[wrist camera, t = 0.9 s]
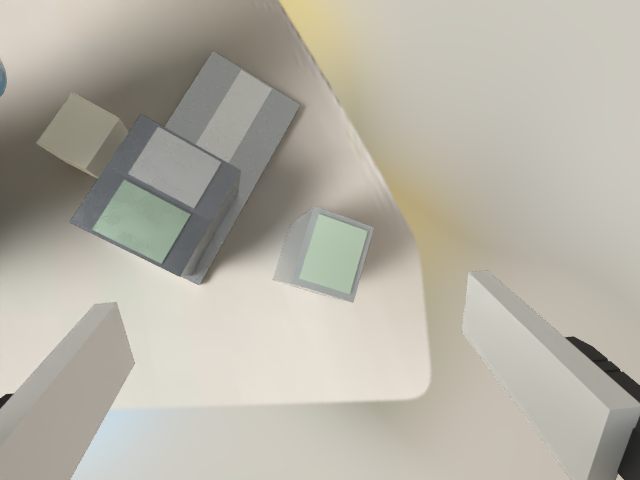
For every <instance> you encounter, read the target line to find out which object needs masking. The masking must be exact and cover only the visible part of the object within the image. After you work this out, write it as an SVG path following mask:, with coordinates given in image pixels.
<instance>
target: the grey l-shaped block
mask: <svg viewBox="0 0 640 480" xmlns="http://www.w3.org/2000/svg"><path fill="white" fill-rule="evenodd" d="M299 107H300V104H299V103H297V102H295V101H294V100H292V99H290V98H289V97H287V96H286V95H284V94H282V93H281V92H279V91H277V90H276V89H274V88H273V87H271V86H269V85H268V84H266V83H264V82H263V81H261V80H260V79H258V78H256V77H255V76H253V75H252V74H250V73H248V72H247V71H245V70H243V69H242V68H240V67H239V66H237V65H235V64H234V63H232V62H230V61H229V60H227V59H226V58H224V57H222V56H221V55H219V54H217V53H216V52H214V51H213V52H212V53H211V55H210V56H209V58H208V59H207V61H206V62H205V64H204V66H203V67H202V69H201V70H200V72H199V73H198V75H197V77H196V78H195V80H194V81H193V83H192V84H191V86H190V88H189V89H188V91H187V92H186V94H185V95H184V97H183V98H182V100H181V102H180V103H179V105H178V106H177V108H176V109H175V111H174V113H173V114H172V116H171V117H170V119H169V120H168V122H167V124H166V125H165V127H164V126H162V125H160V124H158V123H156V122H155V121H153V120H151V119H149V118H148V117H146V116H144V115H142V114H140V116H139V117H138V119H137V121H136V122H135V124H134V125H133V127H132V128H131V130H130V131H129V133H128V134H127V136H126V137H125V139H124V140H123V142H122V143H121V145H120V146H119V148H118V149H117V151H116V152H115V154H114V155H113V157H112V158H111V160H110V162H109V163H108V165H107V166H106V168H105V169H104V171H103V172H102V174H101V175H100V177H99V178H98V180H97V181H96V183H95V184H94V186H93V187H92V189H91V190H90V192H89V193H88V195H87V196H86V198H85V199H84V201H83V203H82V204H81V206H80V207H79V209H78V210H77V212H76V213H75V215H74V216H73V218H72V219H71V221H70V222H69V223H71V224H74V225H76V226H78V227H80V228H82V229H84V230H86V231H88V232H90V233H92V234H94V235H96V236H98V237H100V238H102V239H104V240H106V241H108V242H110V243H112V244H114V245H116V246H118V247H120V248H122V249H124V250H126V251H128V252H130V253H133V254H135V255H137V256H139V257H141V258H143V259H145V260H147V261H149V262H151V263H153V264H155V265H157V266H159V267H161V268H163V269H165V270H167V271H169V272H171V273H173V274H175V275H177V276H179V277H183V278H185V279H187V280H189V281H191V282H193V283H195V284H197V285H200V283H201V282H202V280H203V278H204V276H205V275H206V273H207V271H208V269H209V267H210V266H211V264H212V262H213V260H214V258H215V257H216V255H217V253H218V251H219V250H220V248H221V246H222V244H223V242H224V241H225V239H226V237H227V235H228V234H229V232H230V230H231V228H232V226H233V225H234V223H235V221H236V219H237V218H238V216H239V214H240V212H241V210H242V209H243V207H244V205H245V203H246V202H247V200H248V198H249V196H250V194H251V193H252V191H253V189H254V187H255V185H256V184H257V182H258V180H259V178H260V177H261V175H262V173H263V171H264V169H265V168H266V166H267V164H268V162H269V161H270V159H271V157H272V155H273V153H274V152H275V150H276V148H277V146H278V145H279V143H280V141H281V139H282V137H283V136H284V134H285V132H286V130H287V129H288V127H289V125H290V123H291V121H292V120H293V118H294V116H295V114H296V112H297V111H298V109H299Z"/></svg>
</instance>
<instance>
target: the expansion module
mask: <svg viewBox="0 0 640 480" xmlns="http://www.w3.org/2000/svg"><path fill="white" fill-rule="evenodd" d="M373 230H374V227H372V226H369V225H366V224H363V223H361V222H358V221H355V220H352V219H350V218H347V217H344V216H341V215H338V214H336V213H333V212H330V211H327V210H324V209H322V208H319V207H316V206H314V207H312V208H311V209H310V210H308V211H307V212H306V213H305V214H303V215H302V216H301V217H299V218H298V219H297V220H295V221H294V222H293V223H292V224H290V227H289V230H288V234H287V237H286V240H285V243H284V246H283V249H282V252H281V255H280V259H279V262H278V265H277V268H276V271H275V274H274V277H273V280H275V281H278V282H281V283H284V284H288V285H291V286H294V287H297V288H301V289H304V290H307V291H311V292H314V293H317V294H321V295H325V296H329V297H333V298H337V299H341V300H345V301H349V302H353V301H354V298H355V294H356V291H357V287H358V283H359V280H360V276H361V273H362V269H363V266H364V262H365V259H366V255H367V251H368V248H369V244H370V241H371V237H372V234H373Z"/></svg>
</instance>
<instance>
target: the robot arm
mask: <svg viewBox="0 0 640 480" xmlns="http://www.w3.org/2000/svg"><path fill="white" fill-rule="evenodd" d="M6 83H7V78H6V72H5V68H4V66H3V64H2V62H1V60H0V97H1V96H2V94H3V93H4V91H5V88H6ZM462 333H463V334H464V335H465V337H466V338H467V339H468V341H469V342H470V343H471V345H472V346H473V348H474V349H475V350H476V351H477V353H478V354H479V356H480V357H481V358H482V360H483V361H484V362H485V364H486V365H487V367H488V368H489V369H490V371H491V372H492V373H493V375H494V376H495V377H496V379H497V380H498V381H499V383H500V384H501V385H502V387H503V388H504V389H505V390H506V392H507V393H508V395H509V396H510V397H511V399H512V400H513V402H514V403H515V404H516V406H517V407H518V408H519V410H520V411H521V412H522V414H523V415H524V417H525V418H526V419H527V421H528V422H529V423H530V425H531V426H532V427H533V429H534V430H535V431H536V433H537V434H538V435H539V437H540V438H541V440H542V441H543V442H544V444H545V445H546V446H547V448H548V449H549V450H550V452H551V453H552V454H553V456H554V457H555V458H556V460H557V461H558V462H559V464H560V465H561V466H562V468H563V469H564V471H565V472H566V473H567V475H568V476H569V477H570V479H571V480H616V478H617V475H618V473H619V475H620V476H621V477H622V478H623V479H624V480H640V385H638V384H637V383H636V382H635V381H634V380H633V379H631V378H630V377H629V376H628V375H626V374H625V373H624V372H621V371H620V369H619V368H618V367H617V366H615V365H614V364H613V363H612V362H611V361H608V359H607V358H606V357H605V356H603V355H602V354H601V353H600V352H598V351H597V350H596V349H595V348H594V347H593V346H591V345H589V344H587V343H585V342H583V341H581V340H579V339H577V338H575V337H563V336H562V335H561V334H560V333H559V332H558V331H557V330H555V329H554V328H553V327H552V326H551V325H550V324H549V323H548V322H546V321H545V320H544V319H543V318H542V317H541V316H540V315H538V314H537V313H536V312H535V311H534V310H533V309H532V308H530V307H529V306H528V305H527V304H526V303H525V302H524V301H522V300H521V299H520V298H519V297H518V296H517V295H515V294H514V293H513V292H512V291H511V290H510V289H509V288H508V287H506V286H505V285H504V284H503V283H502V282H501V281H499V280H498V279H497V278H496V277H495V276H494V275H492V273H490V272H489V271H488V270H485V271H473V272H469V273H468V281H467V290H466V298H465V307H464V317H463V325H462ZM134 364H135V362H134V359H133V355H132V352H131V349H130V345H129V342H128V339H127V335H126V332H125V329H124V325H123V322H122V319H121V315H120V312H119V309H118V305H117V302H114V303H103V304H94V306H93V307H92V308H91V309H90V310H89V311H88V312H87V313H86V314H85V316H84V317H83V318H82V319H81V320H80V321H79V322H78V323H77V324H76V326H75V327H74V328H73V329H72V330H71V331H70V332H69V333H68V334H67V336H66V337H65V338H64V339H63V340H62V341H61V342H60V343H59V344H58V346H57V347H56V348H55V349H54V350H53V351H52V352H51V353H50V354H49V356H48V357H47V358H46V359H45V360H44V361H43V362H42V363H41V364H40V365H39V367H38V368H37V369H36V370H35V371H34V372H33V373H32V374H31V375H30V377H29V378H28V379H27V380H26V381H25V382H24V383H23V384H22V385H21V387H20V388H19V389H18V390H17V391H16V392H15V393H14V394H6V395H4V396H3V397H2V398H0V480H70V479H71V477H72V475H73V474H74V472H75V470H76V468H77V466H78V464H79V463H80V461H81V459H82V457H83V456H84V454H85V452H86V450H87V448H88V447H89V445H90V443H91V441H92V439H93V437H94V436H95V434H96V432H97V430H98V428H99V427H100V425H101V423H102V421H103V420H104V418H105V416H106V414H107V412H108V411H109V409H110V407H111V405H112V403H113V402H114V400H115V398H116V396H117V394H118V393H119V391H120V389H121V387H122V385H123V384H124V382H125V380H126V378H127V376H128V375H129V373H130V371H131V369H132V367H133V366H134Z"/></svg>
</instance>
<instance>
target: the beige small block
mask: <svg viewBox="0 0 640 480" xmlns="http://www.w3.org/2000/svg"><path fill="white" fill-rule="evenodd" d="M128 133H129V130H128V129H127V128H126V126H125V125H124V123H123V122H122V121H121V119H120V118H119V117H117V116H115V115H113V114H111V113H110V112H108V111H106V110H104V109H102V108H101V107H99V106H97V105H95V104H93V103H92V102H90V101H88V100H86V99H84V98H83V97H81V96H79V95H77V94H75V93H74V92H72V93H71V94H70V96H69V97H68V99H67V100H66V102H65V103H64V104H63V106H62V107H61V109H60V110H59V111H58V113H57V114H56V116H55V117H54V118H53V120H52V121H51V123H50V124H49V125H48V127H47V128H46V130H45V131H44V132H43V134H42V135H41V137H40V138H39V140H38V141H37V142H36V143H37V144H38V145H40V146H41V147H43V148H44V149H46V150H47V151H49V152H50V153H52V154H53V155H55V156H56V157H58V158H59V159H61V160H62V161H64V162H66V163H68V164H70V165H72V166H74V167H75V168H77V169H79V170H81V171H83V172H85V173H87V174H89V175H91V176H93V177H95V178H97V179H98V178H99V177H100V175H101V174H102V172H103V171H104V169H105V168H106V166H107V165H108V163H109V162H110V160H111V158H112V157H113V155H114V154H115V152H116V151H117V149H118V148H119V146H120V145H121V143H122V142H123V140H124V139H125V137H126V136H127V134H128Z"/></svg>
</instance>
